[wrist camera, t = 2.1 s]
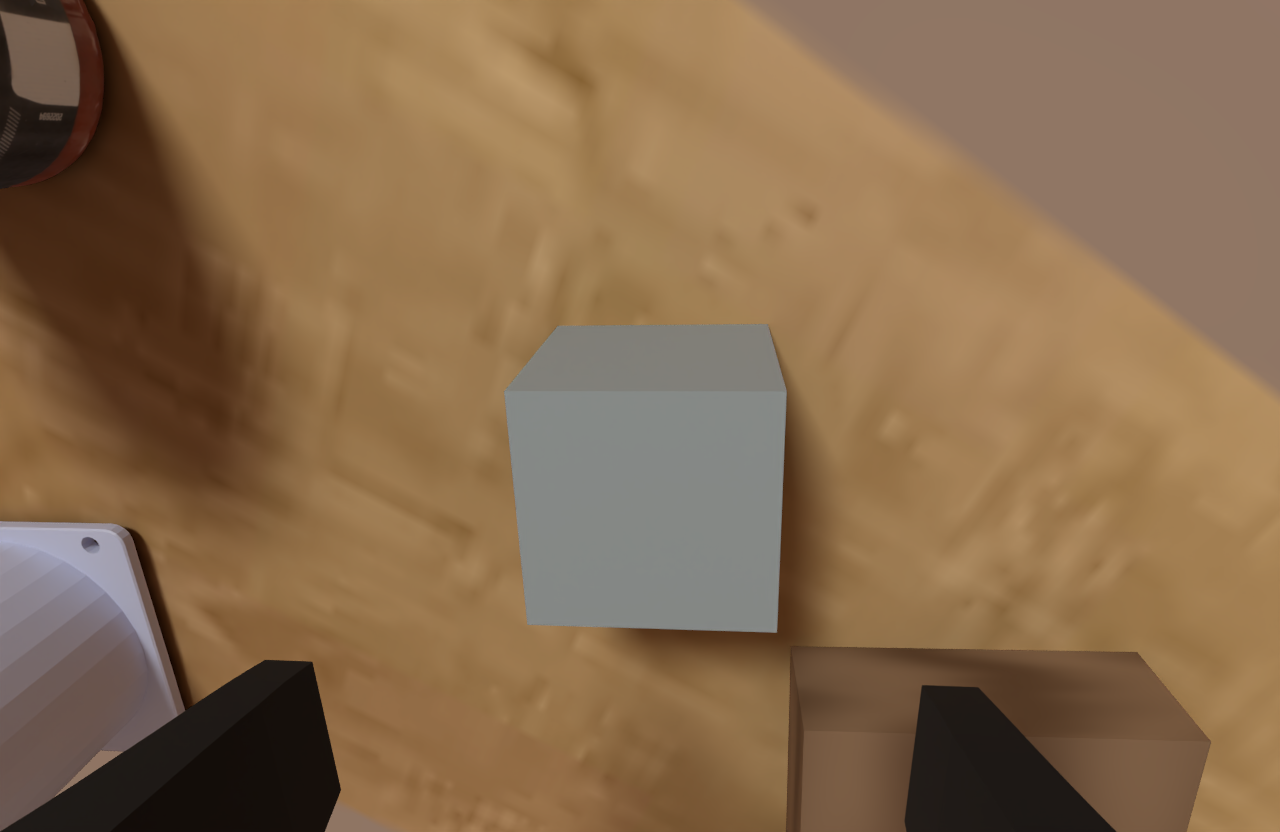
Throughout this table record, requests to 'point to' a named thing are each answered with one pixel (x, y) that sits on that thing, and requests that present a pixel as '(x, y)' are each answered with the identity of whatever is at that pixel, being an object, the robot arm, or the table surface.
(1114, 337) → the table surface
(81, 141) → the supplement bottle
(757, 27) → the table surface
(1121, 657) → the walnut block
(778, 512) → the grey cube
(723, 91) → the table surface
